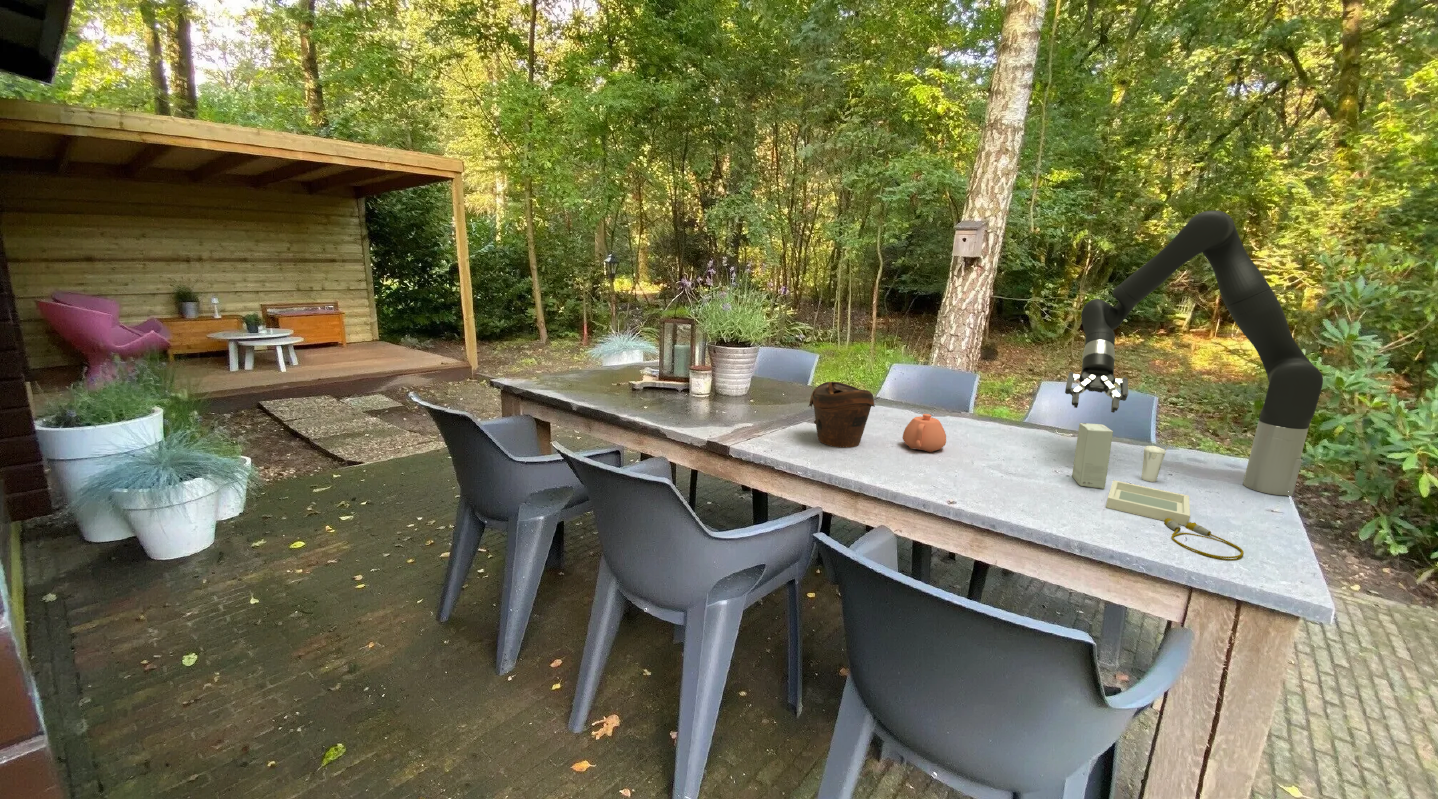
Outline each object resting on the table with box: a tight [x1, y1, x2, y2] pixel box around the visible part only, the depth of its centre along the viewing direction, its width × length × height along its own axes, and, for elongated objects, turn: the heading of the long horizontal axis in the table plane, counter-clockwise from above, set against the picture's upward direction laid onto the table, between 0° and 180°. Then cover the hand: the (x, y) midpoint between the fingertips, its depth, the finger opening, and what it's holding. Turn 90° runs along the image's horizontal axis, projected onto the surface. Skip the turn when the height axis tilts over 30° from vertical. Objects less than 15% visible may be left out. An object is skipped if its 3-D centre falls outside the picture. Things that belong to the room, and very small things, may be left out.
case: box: [808, 381, 875, 448], centre depth 179 cm, size 18×20×18 cm
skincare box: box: [1071, 422, 1114, 490], centre depth 152 cm, size 8×6×15 cm
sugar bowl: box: [902, 413, 947, 453], centre depth 176 cm, size 12×14×10 cm
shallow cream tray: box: [1105, 479, 1191, 527], centre depth 139 cm, size 15×15×2 cm
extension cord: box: [1163, 518, 1244, 561], centre depth 121 cm, size 12×16×2 cm
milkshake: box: [1140, 443, 1171, 483], centre depth 156 cm, size 4×5×10 cm
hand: (1094, 408), depth 159 cm, fingers open, 8 cm apart
